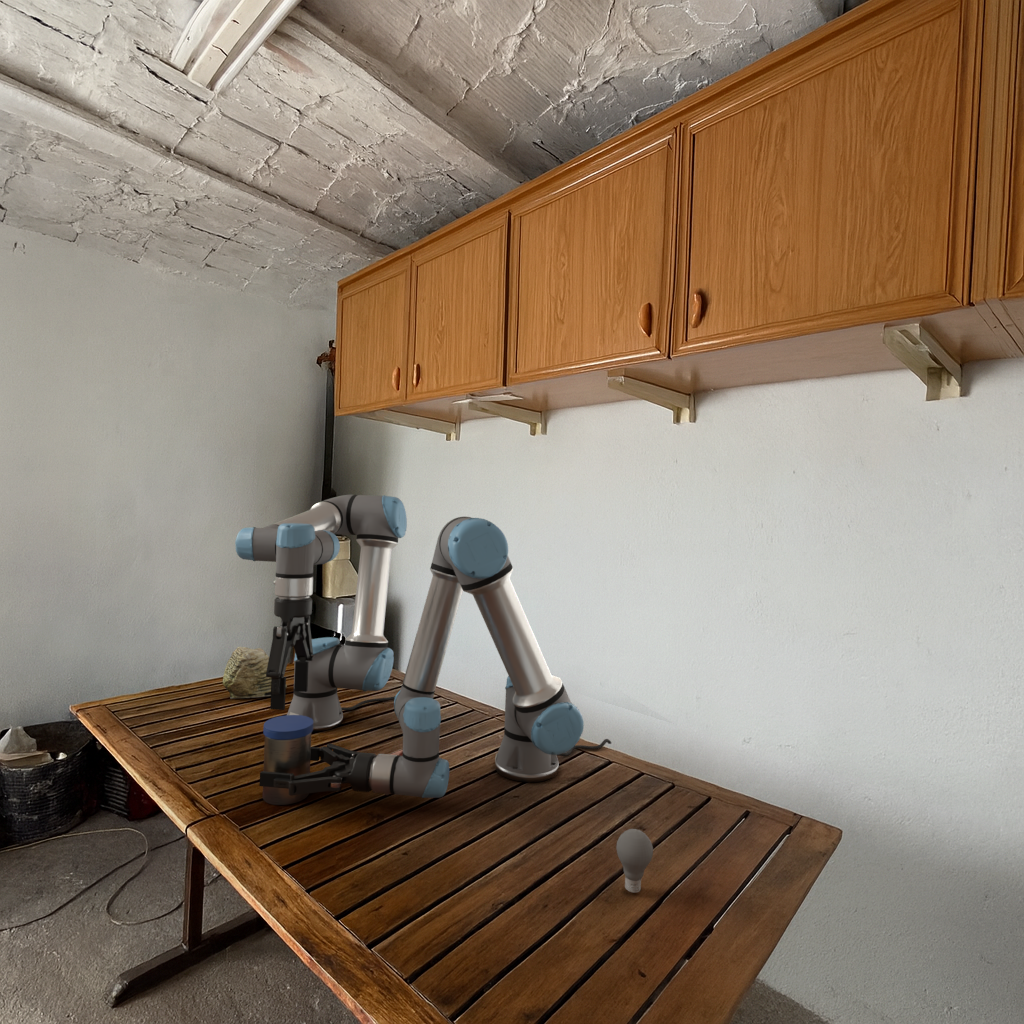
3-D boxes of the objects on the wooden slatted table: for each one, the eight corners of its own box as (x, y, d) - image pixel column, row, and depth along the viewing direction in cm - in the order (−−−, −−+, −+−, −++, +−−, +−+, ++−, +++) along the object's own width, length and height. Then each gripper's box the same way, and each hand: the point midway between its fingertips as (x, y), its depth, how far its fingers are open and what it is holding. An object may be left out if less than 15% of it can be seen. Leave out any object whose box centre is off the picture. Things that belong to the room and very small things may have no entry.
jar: (259, 806, 128) (261, 734, 128) (266, 786, 138) (268, 718, 137) (307, 803, 131) (309, 732, 130) (310, 783, 140) (313, 716, 139)
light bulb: (610, 879, 108) (613, 822, 108) (644, 879, 109) (647, 822, 109) (619, 902, 102) (622, 840, 102) (655, 901, 103) (658, 840, 103)
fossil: (218, 695, 195) (220, 647, 195) (278, 685, 208) (279, 640, 207) (228, 703, 189) (230, 653, 188) (289, 692, 201) (290, 645, 201)
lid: (259, 740, 128) (259, 732, 128) (267, 723, 138) (267, 715, 138) (311, 738, 130) (311, 730, 130) (314, 721, 140) (315, 714, 140)
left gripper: (298, 588, 145) (294, 682, 146) (249, 605, 122) (245, 717, 122) (330, 589, 145) (326, 684, 145) (288, 607, 121) (283, 720, 122)
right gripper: (352, 820, 119) (245, 810, 121) (390, 766, 144) (300, 758, 146) (354, 781, 119) (246, 772, 121) (391, 733, 144) (301, 726, 146)
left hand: (289, 699), depth 134 cm, fingers open, 11 cm apart
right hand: (276, 764), depth 134 cm, fingers open, 13 cm apart
